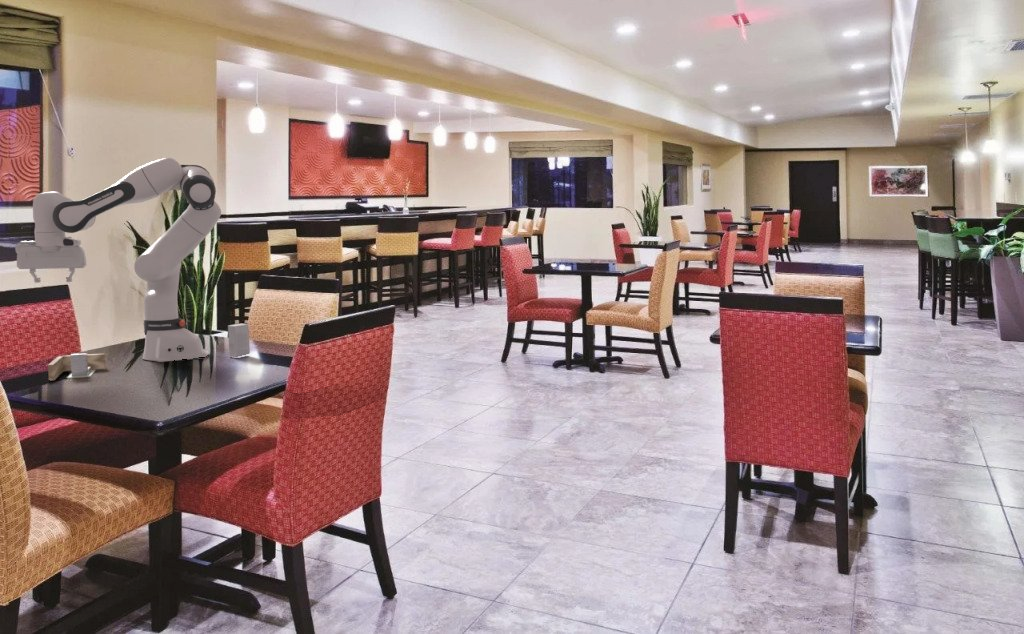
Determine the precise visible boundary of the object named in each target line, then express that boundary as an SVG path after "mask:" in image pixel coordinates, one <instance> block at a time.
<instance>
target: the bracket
mask: <svg viewBox="0 0 1024 634" xmlns="http://www.w3.org/2000/svg"><path fill="white" fill-rule="evenodd" d="M87 354H88V353H71V354H69V355H70V357H71V370H72V371H71V373H72V376H87V375H88V374H89V373H90V372H91V366H88V363H87Z"/></svg>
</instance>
